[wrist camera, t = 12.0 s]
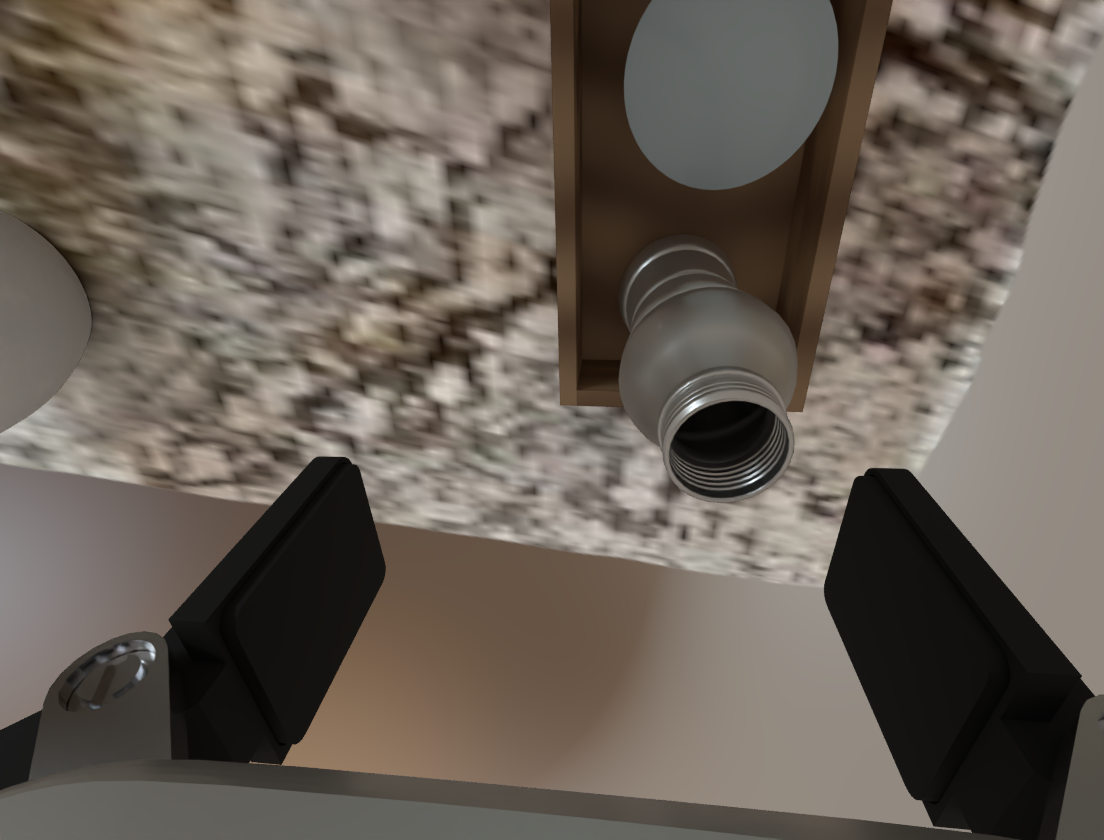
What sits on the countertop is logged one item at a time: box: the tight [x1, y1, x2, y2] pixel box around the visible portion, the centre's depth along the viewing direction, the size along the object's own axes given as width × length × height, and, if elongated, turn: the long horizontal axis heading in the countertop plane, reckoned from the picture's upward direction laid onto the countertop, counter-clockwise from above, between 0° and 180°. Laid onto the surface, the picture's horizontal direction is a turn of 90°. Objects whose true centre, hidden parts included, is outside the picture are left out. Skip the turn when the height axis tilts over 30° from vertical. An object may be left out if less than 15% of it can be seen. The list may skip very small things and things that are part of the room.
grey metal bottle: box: [618, 234, 798, 503], centre depth 24 cm, size 6×7×20 cm
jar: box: [624, 0, 838, 190], centre depth 23 cm, size 7×7×10 cm
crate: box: [550, 0, 893, 412], centre depth 29 cm, size 22×14×6 cm, turn 2°
